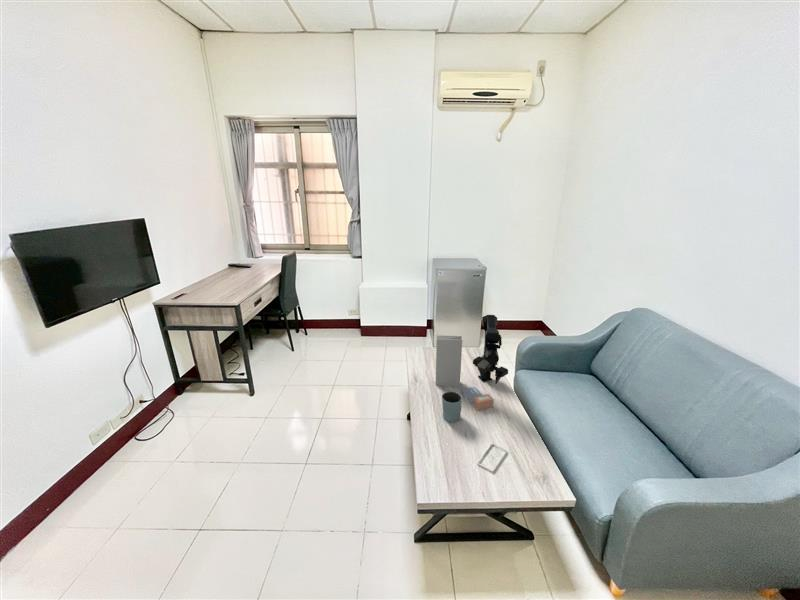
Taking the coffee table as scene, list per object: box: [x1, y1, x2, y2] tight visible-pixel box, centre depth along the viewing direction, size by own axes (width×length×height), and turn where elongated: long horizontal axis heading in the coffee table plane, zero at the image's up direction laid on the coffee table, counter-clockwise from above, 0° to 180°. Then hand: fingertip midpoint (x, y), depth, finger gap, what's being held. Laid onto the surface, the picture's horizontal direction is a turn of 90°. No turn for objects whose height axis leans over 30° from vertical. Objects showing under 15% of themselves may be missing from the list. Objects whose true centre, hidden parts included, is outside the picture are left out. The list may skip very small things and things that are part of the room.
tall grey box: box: [435, 334, 463, 387], centre depth 193 cm, size 14×6×30 cm, turn 84°
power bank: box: [476, 442, 508, 473], centre depth 142 cm, size 7×1×15 cm
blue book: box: [460, 386, 484, 405], centre depth 185 cm, size 14×9×1 cm, turn 16°
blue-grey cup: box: [441, 390, 463, 423], centre depth 167 cm, size 10×10×12 cm
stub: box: [472, 393, 495, 411], centre depth 176 cm, size 5×9×5 cm, turn 106°
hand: (488, 380), depth 178 cm, fingers open, 9 cm apart
